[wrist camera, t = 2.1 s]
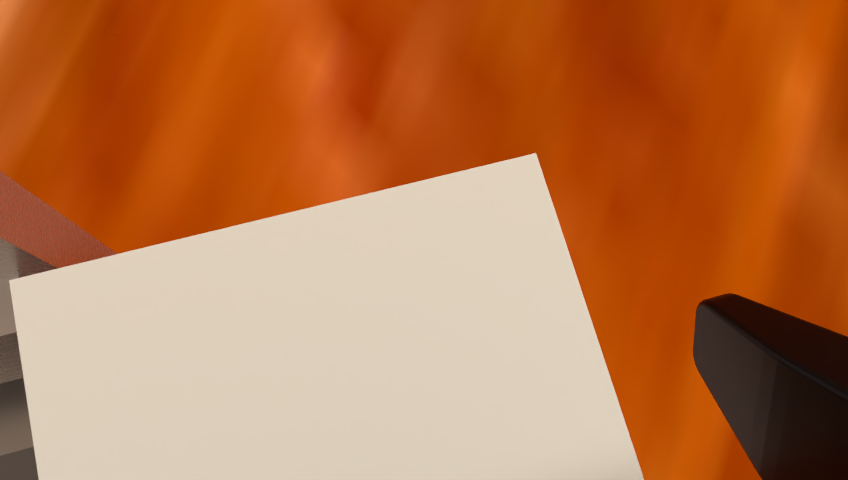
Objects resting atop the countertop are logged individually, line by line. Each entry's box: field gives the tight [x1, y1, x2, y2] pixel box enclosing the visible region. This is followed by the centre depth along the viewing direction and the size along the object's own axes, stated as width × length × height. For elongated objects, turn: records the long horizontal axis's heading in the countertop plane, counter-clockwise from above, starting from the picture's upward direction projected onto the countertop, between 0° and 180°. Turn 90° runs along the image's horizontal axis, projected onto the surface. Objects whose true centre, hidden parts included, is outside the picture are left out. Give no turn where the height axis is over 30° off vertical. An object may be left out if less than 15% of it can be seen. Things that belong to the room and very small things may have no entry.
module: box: [9, 153, 644, 480], centre depth 11 cm, size 5×5×10 cm
